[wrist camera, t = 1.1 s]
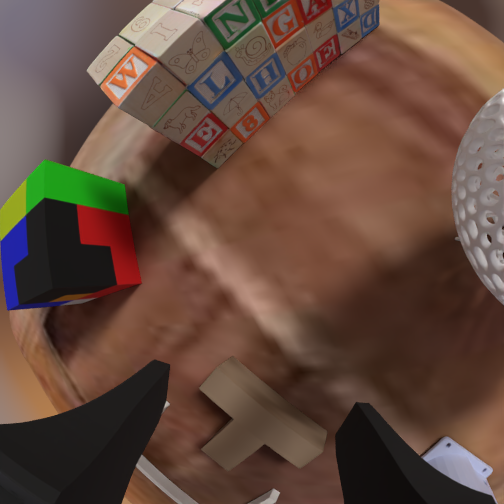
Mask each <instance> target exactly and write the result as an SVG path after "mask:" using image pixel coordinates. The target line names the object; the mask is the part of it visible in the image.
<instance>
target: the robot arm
mask: <svg viewBox="0 0 504 504" xmlns="http://www.w3.org/2000/svg"><path fill="white" fill-rule="evenodd" d="M169 371H170V364H167V363H164V362H161V361H158V360H153V361H151V362H150V363H149V364H147V365H146V366H145V367H144V368H142V369H141V370H140V371H138V372H137V373H136V374H134V375H133V376H132V377H130V378H129V379H127V380H126V381H124V382H123V383H121V384H120V385H118V386H117V387H115V388H114V389H112V390H110V391H109V392H107V393H105V394H103V395H102V396H100V397H98V398H96V399H94V400H92V401H90V402H88V403H86V404H84V405H82V406H79V407H77V408H75V409H72V410H69V411H66V412H64V413H61V414H58V415H55V416H51V417H47V418H43V419H38V420H34V421H29V422H23V423H13V424H0V504H121V503H122V500H123V498H124V495H125V492H126V489H127V487H128V484H129V481H130V478H131V476H132V473H133V471H134V469H135V467H136V464H137V462H138V461H139V459H140V457H141V455H142V453H143V451H144V449H145V447H146V445H147V444H148V442H149V440H150V438H151V436H152V434H153V432H154V430H155V428H156V426H157V424H158V422H159V420H160V417H161V414H162V412H163V409H164V406H165V403H166V398H167V389H168V380H169ZM335 440H336V458H337V464H338V469H339V475H340V480H341V486H342V491H343V497H344V504H497V501H496V499H495V497H494V495H493V492H492V490H491V488H490V486H489V484H488V482H487V479H486V478H487V477H488V476H489V475H490V474H491V473H492V471H493V469H492V468H491V467H490V466H489V465H487V464H486V463H484V462H483V461H481V460H480V459H479V458H477V457H476V456H474V455H473V454H472V453H470V452H469V451H467V450H466V449H465V448H463V447H462V446H460V445H459V444H458V443H456V442H455V441H454V440H452V439H451V438H449V437H443V438H442V439H441V440H440V441H439V442H437V443H436V444H435V445H434V446H433V447H432V448H431V449H430V450H429V451H427V452H426V453H425V454H424V455H423V456H422V457H420V456H419V455H418V454H417V453H416V452H415V451H414V450H413V449H412V448H411V447H410V446H408V445H407V444H406V443H405V441H404V440H403V439H402V438H401V437H400V436H399V435H398V434H397V433H396V432H395V431H394V430H393V429H392V428H391V426H390V425H389V424H388V423H387V422H386V421H385V420H384V419H383V417H382V416H381V415H380V414H379V413H378V412H377V411H376V410H375V409H374V408H373V407H372V406H371V405H370V404H369V403H359V402H356V403H355V405H354V406H353V408H352V410H351V411H350V413H349V414H348V416H347V418H346V419H345V421H344V422H343V424H342V425H341V427H340V428H339V430H338V432H337V433H336V435H335ZM448 443H450V444H449V445H447V444H448ZM446 445H447V446H446ZM483 469H484V470H483Z"/></svg>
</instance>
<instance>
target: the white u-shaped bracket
mask: <svg viewBox="0 0 504 504" xmlns="http://www.w3.org/2000/svg"><path fill="white" fill-rule="evenodd" d="M169 405H170V404H169V403H168V402H167V401H166V403H165V406H164V409H163V412H164V411H165V410H166V408H167V407H168V406H169ZM163 412H162V413H163ZM136 467H137V468H138V469H139V470H140V471H141V472H142V473H143V474H144V475H145V476H146V477H147V478H149V479H150V480H151V481H152V482H153V483H154V484H155V485H156V486H157V487H159V488H160V489H161V490H162V491H163V492H164V493H166V494H167V495H168V496H169V497H170V498H172V499H173V500H174V501H175V502H177V503H178V504H199V503H197V502H196V501H195V500H193V499H192V498H191V497H190V496H188V495H187V494H186V493H185V492H183V491H182V490H181V489H180V488H178V487H177V486H176V485H175V484H174V483H172V482H171V481H170V480H169V479H168V478H167V477H165V476H164V475H163V474H162V473H161V472H160V471H159V470H158V469H157V468H155V467H154V466H153V465H152V464H151V463H150V462H149V461H148V460H147V459H146V458H145V457H144V456H143V455H141V457H140V459H139V461H138V462H137V464H136ZM279 494H280V492H278V491H277V490H275V489H272V490H270V491H269V492H267V493H265V494H264V495H262V496H260V497H258V498H257V499H255V500H253V501H251V502H249V503H248V504H273V503H275V502H276V500H277V498H278V496H279Z"/></svg>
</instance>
